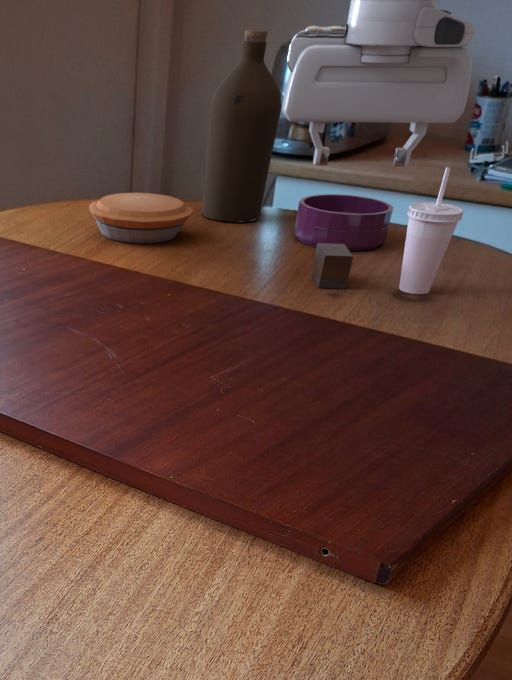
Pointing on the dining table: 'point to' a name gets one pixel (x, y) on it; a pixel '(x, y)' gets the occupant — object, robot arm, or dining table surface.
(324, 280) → the eraser
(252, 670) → the dining table surface
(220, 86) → the olive oil
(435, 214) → the smoothie
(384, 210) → the bowl
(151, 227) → the pie
